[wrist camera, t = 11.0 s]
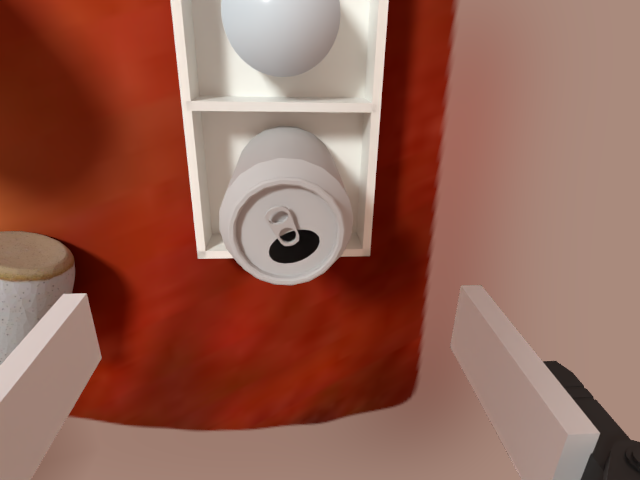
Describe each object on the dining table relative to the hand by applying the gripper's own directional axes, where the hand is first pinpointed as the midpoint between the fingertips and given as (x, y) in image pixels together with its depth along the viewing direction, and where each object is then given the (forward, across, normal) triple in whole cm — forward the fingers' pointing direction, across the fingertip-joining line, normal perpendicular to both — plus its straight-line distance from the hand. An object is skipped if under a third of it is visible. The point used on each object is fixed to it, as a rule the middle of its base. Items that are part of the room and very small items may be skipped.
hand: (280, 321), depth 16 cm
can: (+20, 0, 0) cm, 20 cm away
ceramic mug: (+21, -22, -9) cm, 31 cm away
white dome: (+20, 0, +11) cm, 23 cm away
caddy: (+21, 0, +5) cm, 21 cm away
